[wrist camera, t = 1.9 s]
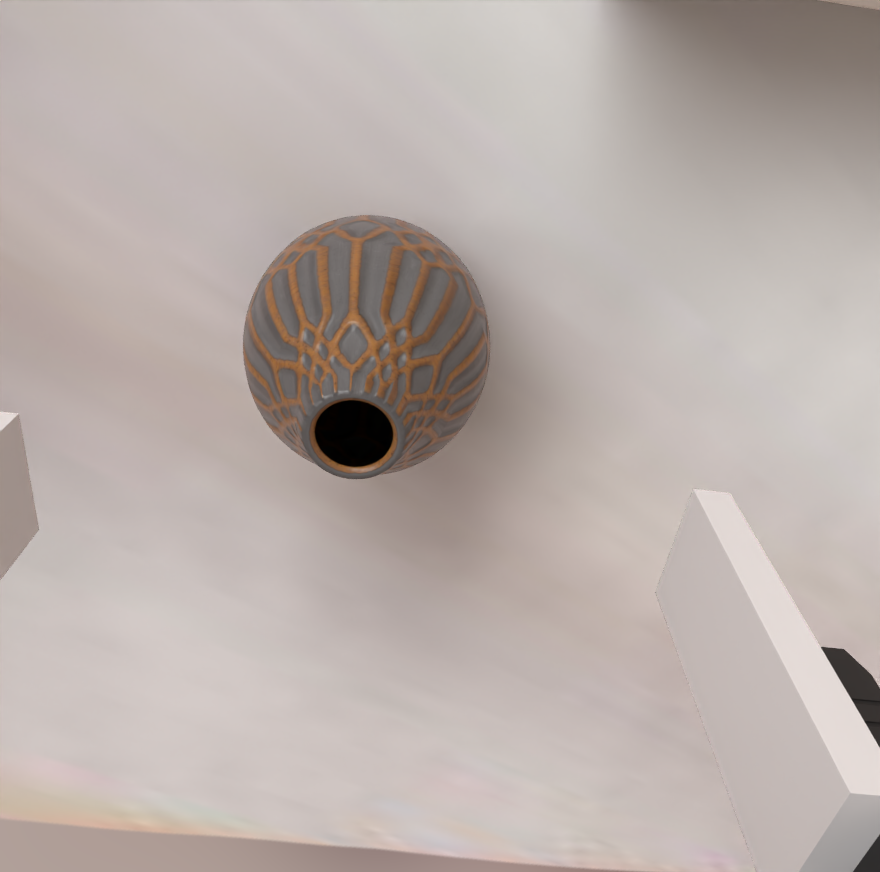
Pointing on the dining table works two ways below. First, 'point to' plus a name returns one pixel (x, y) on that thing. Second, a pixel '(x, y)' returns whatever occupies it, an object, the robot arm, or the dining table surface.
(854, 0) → the riser block
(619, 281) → the dining table surface
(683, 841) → the dining table surface
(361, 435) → the vase
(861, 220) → the dining table surface
